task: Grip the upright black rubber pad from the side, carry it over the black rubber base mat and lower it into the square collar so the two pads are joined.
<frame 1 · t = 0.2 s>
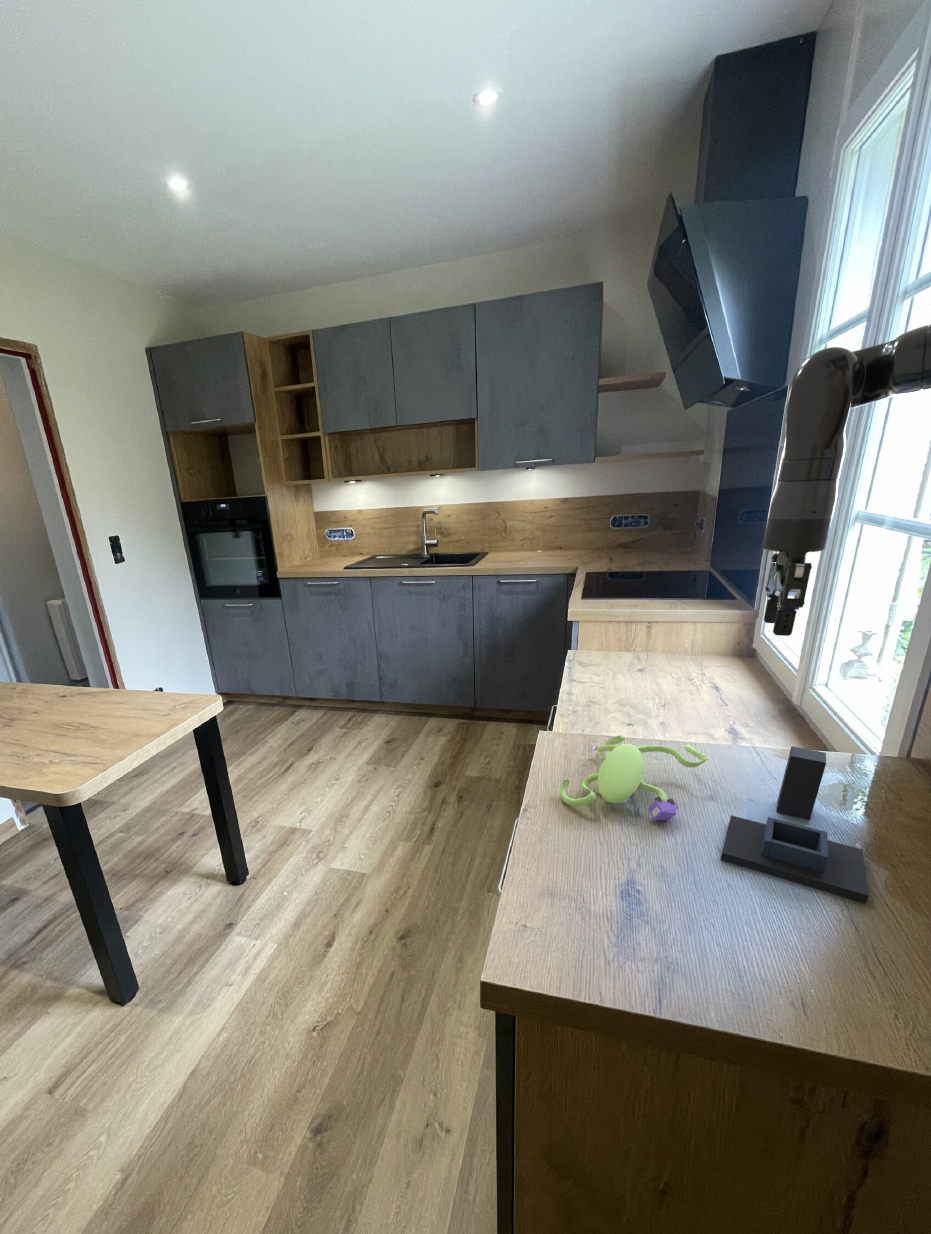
hand: (776, 628, 83), 28 cm above the countertop, tool pointing down, fingers open, 8 cm apart
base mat: (790, 858, 77), on the countertop
figurine: (631, 785, 97), on the countertop
black pad: (793, 810, 88), on the countertop
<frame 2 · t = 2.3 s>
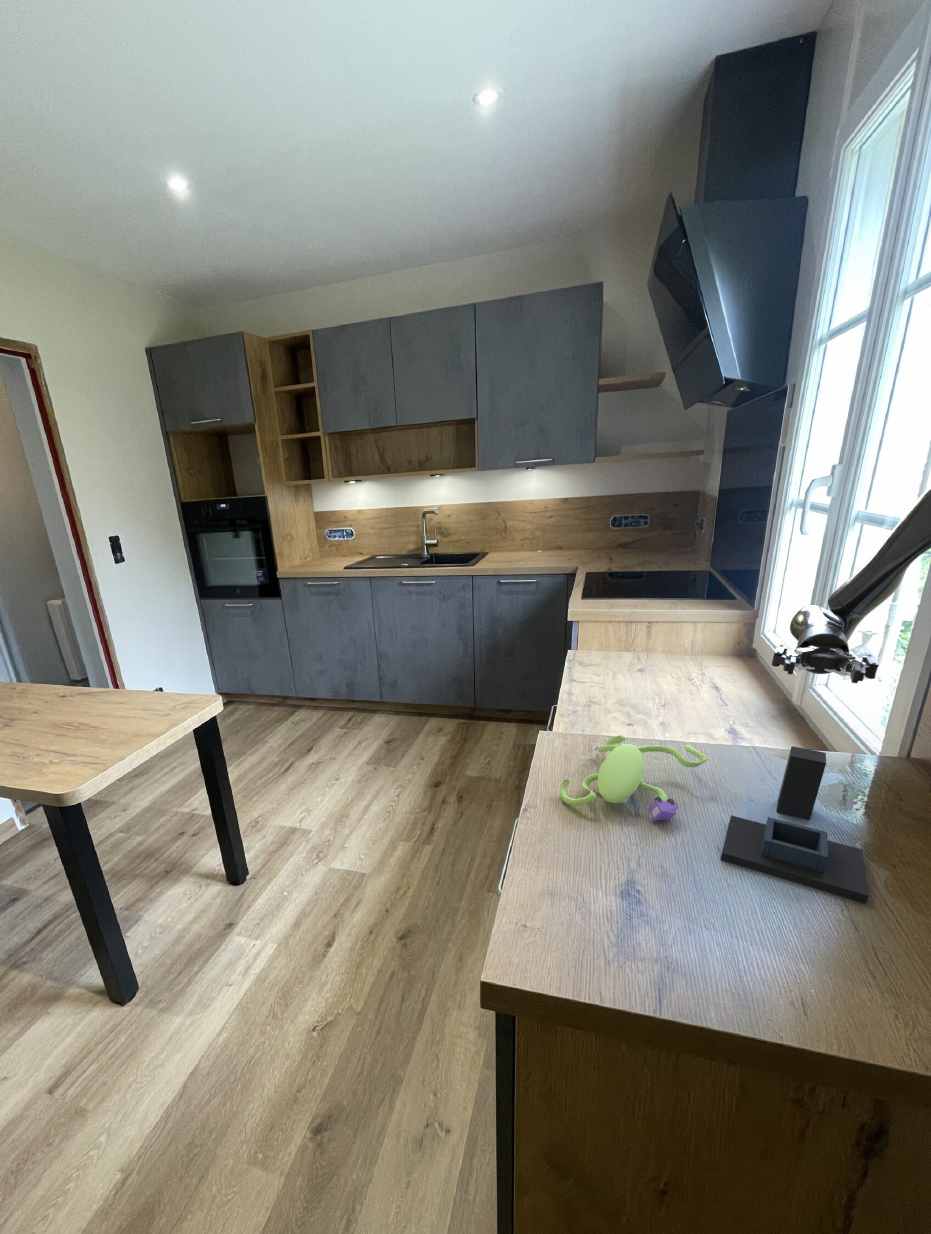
hand: (823, 673, 89), 20 cm above the countertop, tool horizontal, fingers open, 8 cm apart
nothing on the countertop moved.
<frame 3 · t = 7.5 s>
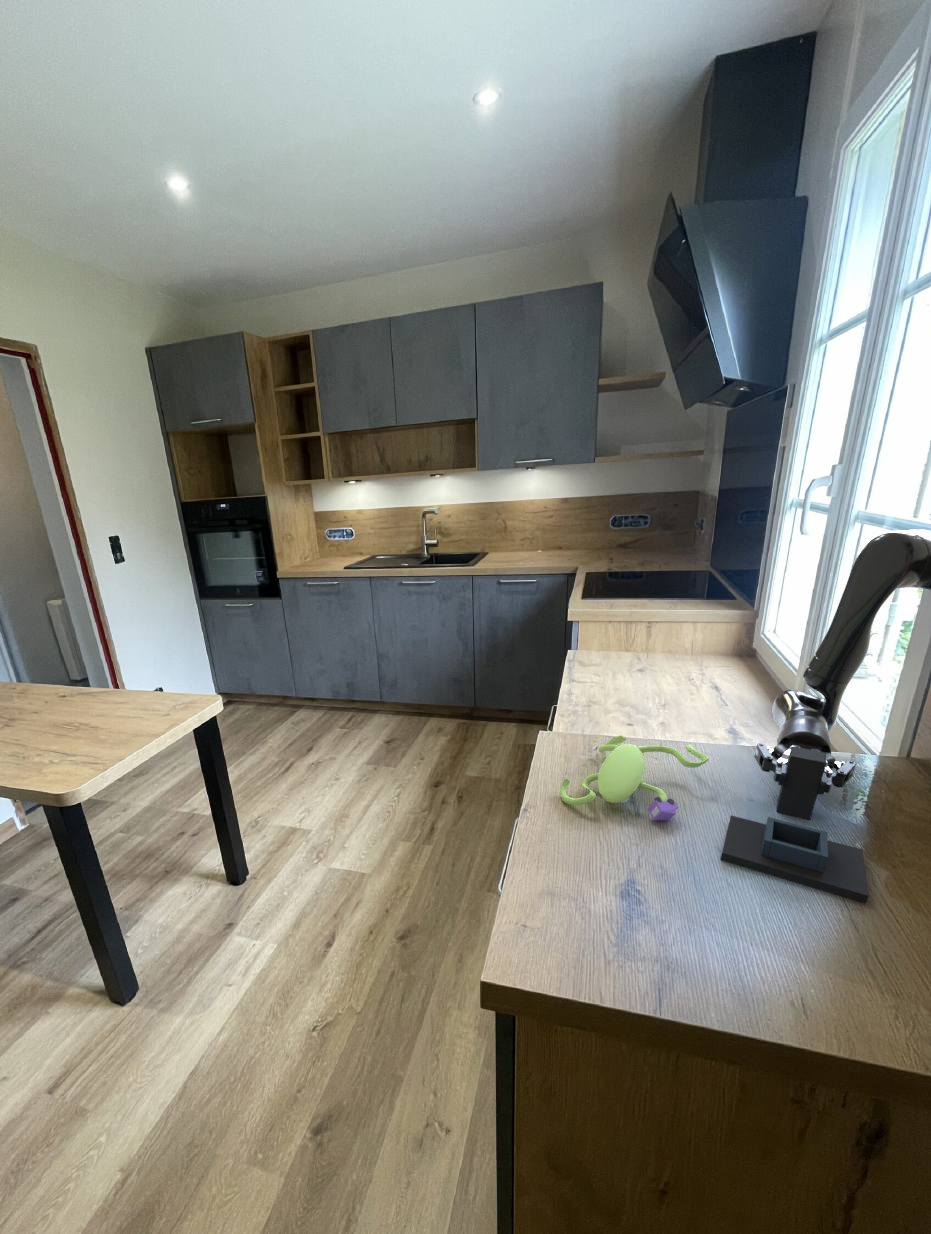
hand: (802, 784, 83), 6 cm above the countertop, tool horizontal, fingers closed on black pad, 4 cm apart
black pad: (793, 810, 88), on the countertop, touching gripper
everything else where it was.
when the fingers open (7 cm above the countertop, at t = 15.2 s): black pad stays where it is, resting on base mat.
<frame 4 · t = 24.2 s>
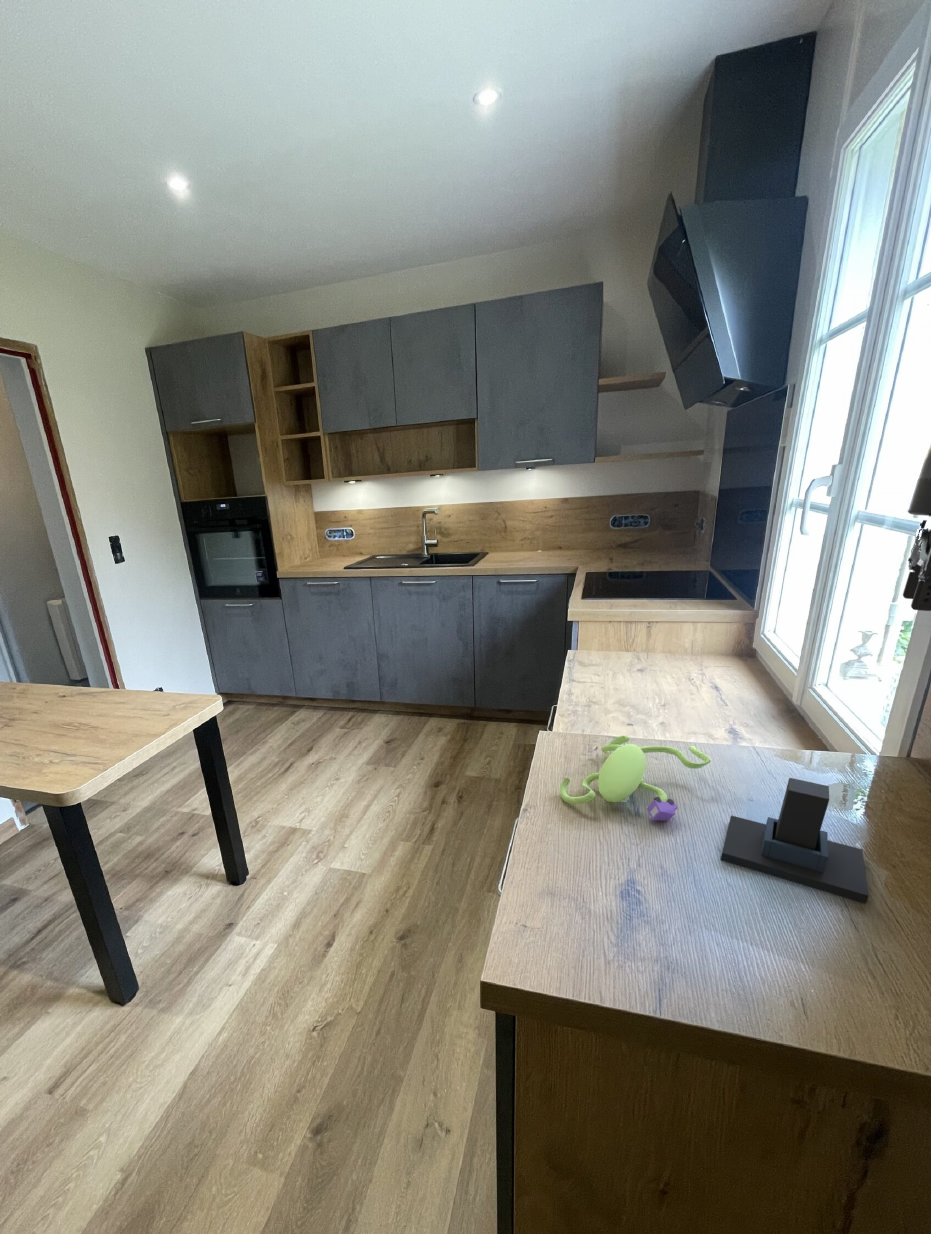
hand: (916, 604, 74), 33 cm above the countertop, tool pointing down, fingers open, 8 cm apart
black pad: (791, 850, 77), point 1 cm above the countertop, touching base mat
everything else where it was.
at the end: black pad 0.1 cm off-centre on the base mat, point 1.2 cm above the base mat's base; black pad tilted 0°; the gripper is holding nothing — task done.
